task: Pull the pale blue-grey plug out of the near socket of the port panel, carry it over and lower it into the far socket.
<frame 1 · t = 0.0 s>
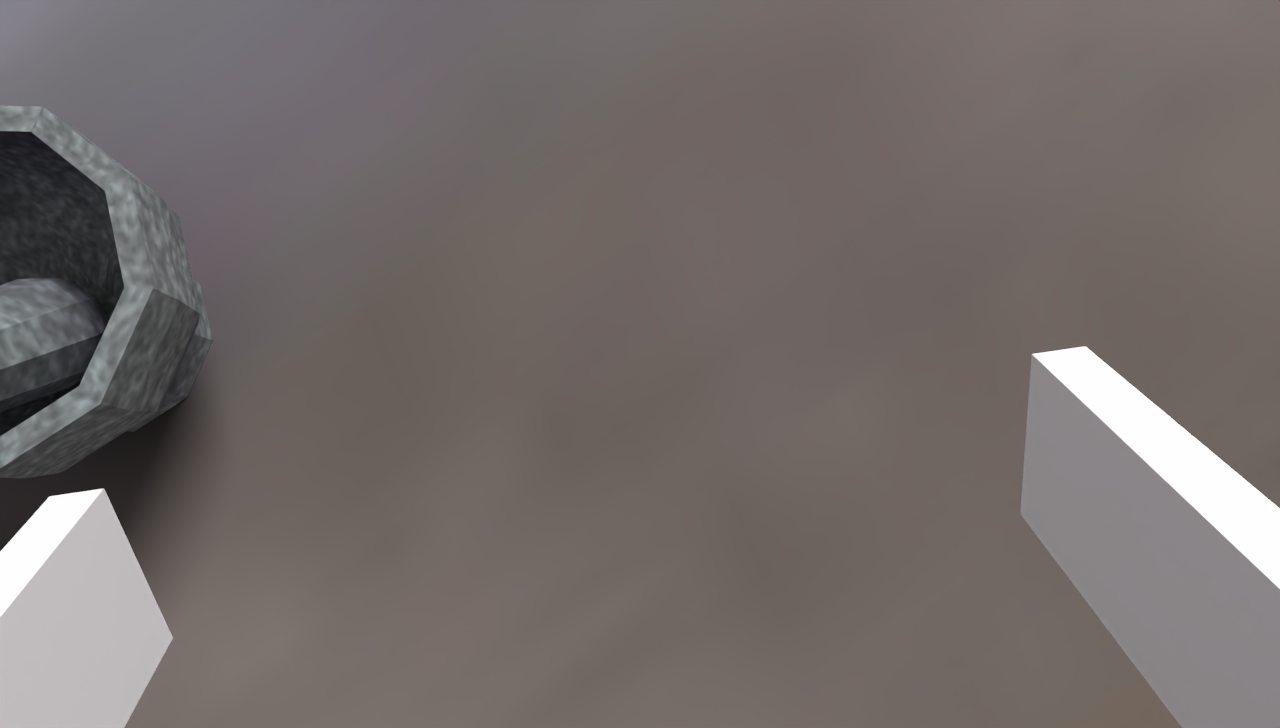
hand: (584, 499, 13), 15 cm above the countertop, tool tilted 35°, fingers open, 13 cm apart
mortar and pestle: (110, 359, 30), on the countertop
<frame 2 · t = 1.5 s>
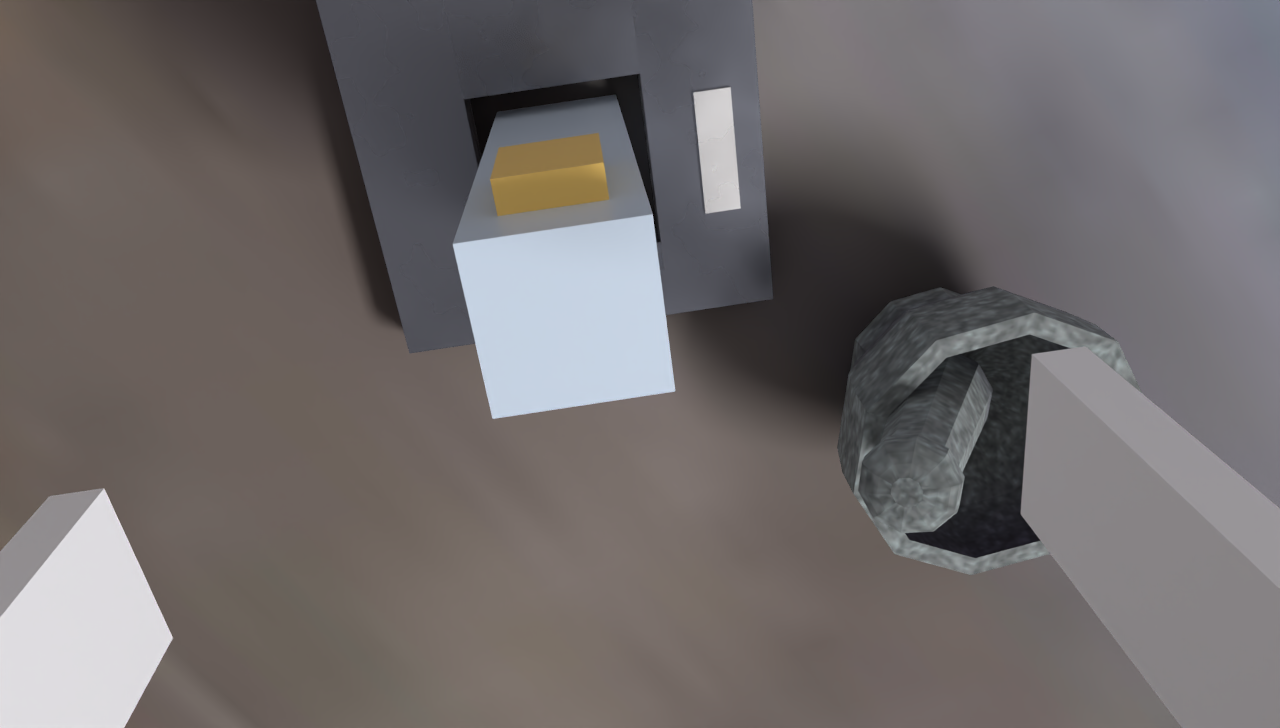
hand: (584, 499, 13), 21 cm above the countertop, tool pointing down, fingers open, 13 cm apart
plug: (566, 162, 32), resting in port panel
mortar and pestle: (908, 354, 36), on the countertop
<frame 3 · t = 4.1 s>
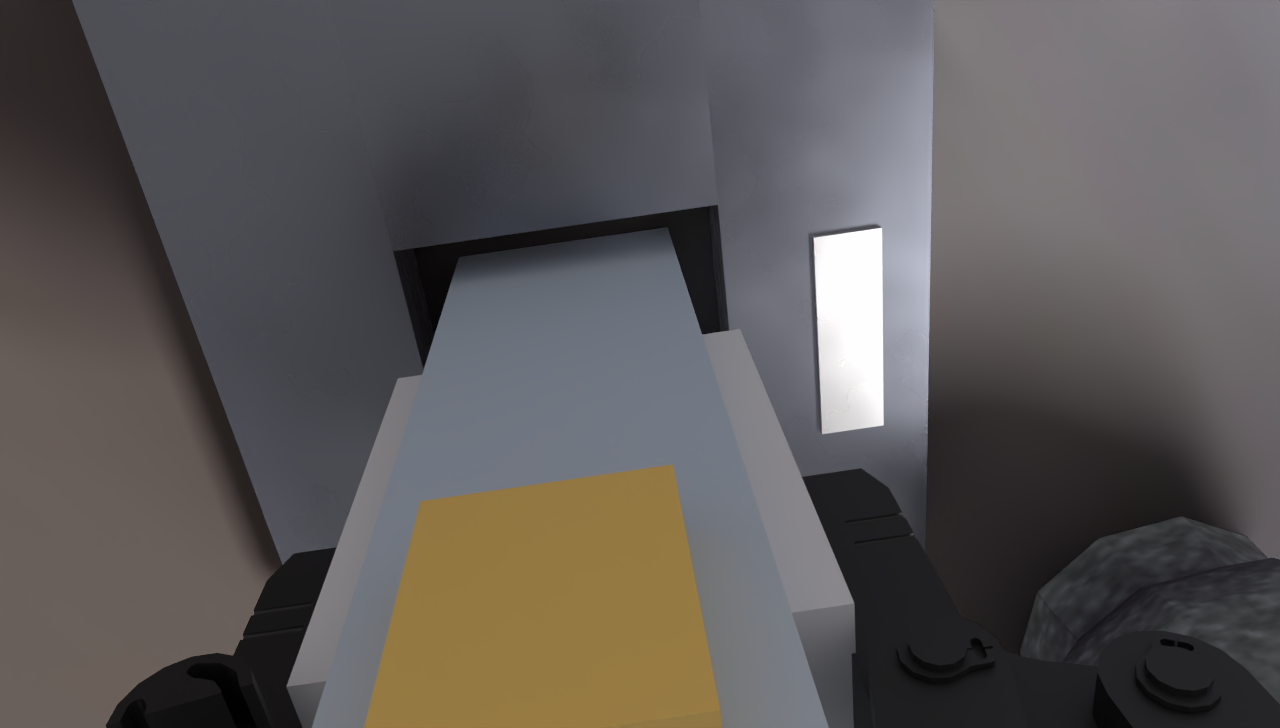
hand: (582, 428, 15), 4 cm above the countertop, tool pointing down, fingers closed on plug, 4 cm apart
plug: (579, 336, 18), resting in port panel, touching gripper
mortar and pestle: (1116, 609, 23), on the countertop
port panel: (531, 51, 16), on the countertop
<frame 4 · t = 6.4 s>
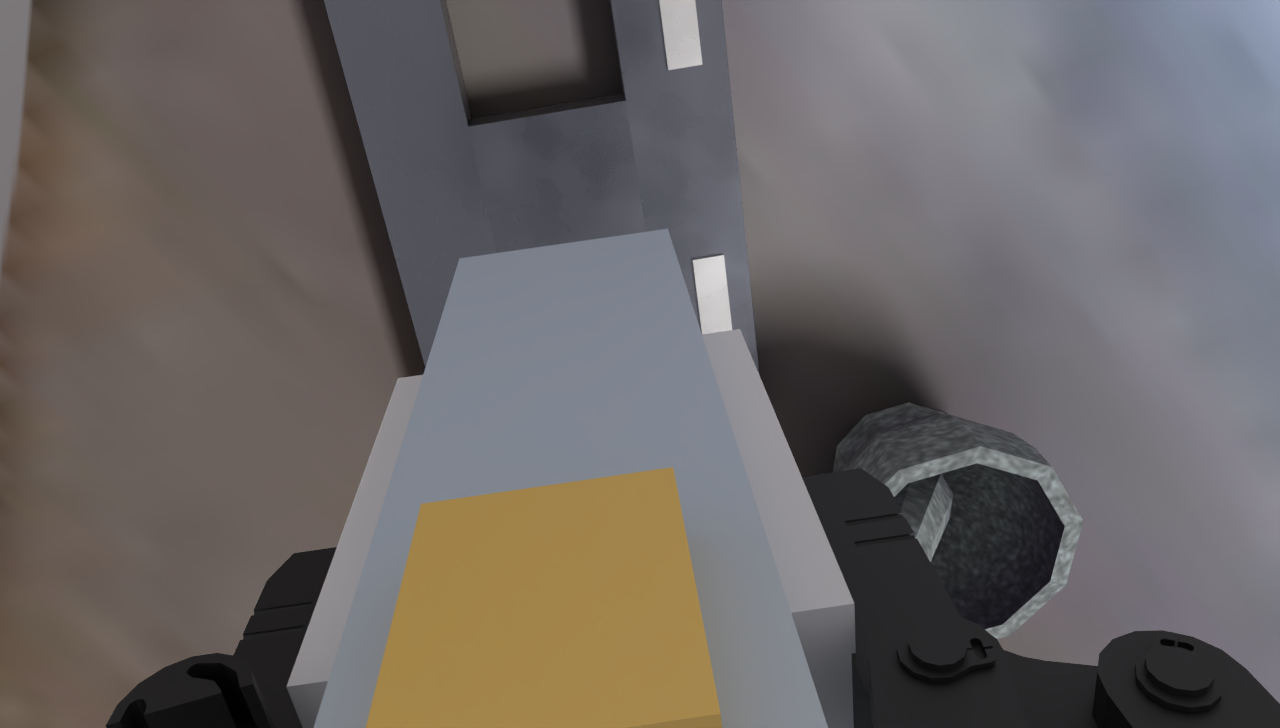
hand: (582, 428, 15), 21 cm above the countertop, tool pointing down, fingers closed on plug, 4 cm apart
plug: (579, 338, 18), point 18 cm above the countertop, touching gripper
mortar and pestle: (883, 457, 42), on the countertop
port panel: (560, 177, 35), on the countertop
when the fingers open (5 cm above the countertop, at t = 9.0 s): plug drops 1 cm, resting in port panel.
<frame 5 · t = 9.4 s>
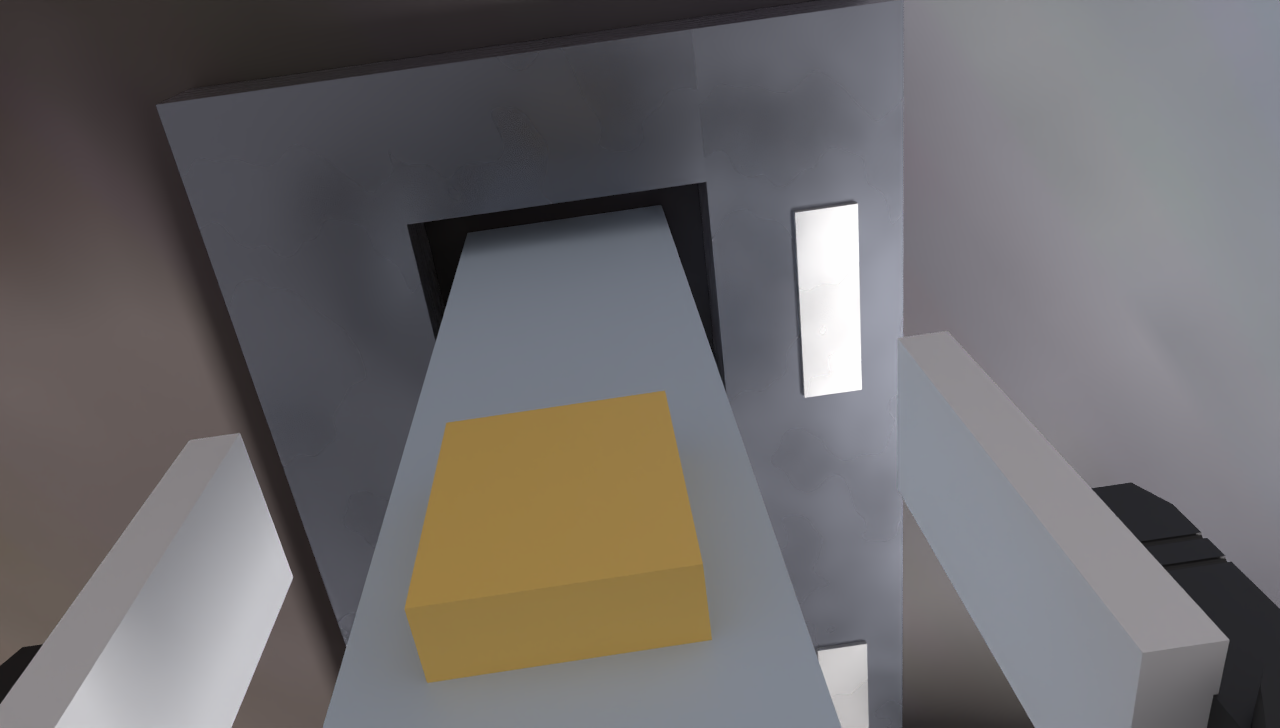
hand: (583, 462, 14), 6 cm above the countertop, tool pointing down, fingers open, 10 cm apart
plug: (579, 308, 20), resting in port panel
port panel: (614, 517, 22), on the countertop
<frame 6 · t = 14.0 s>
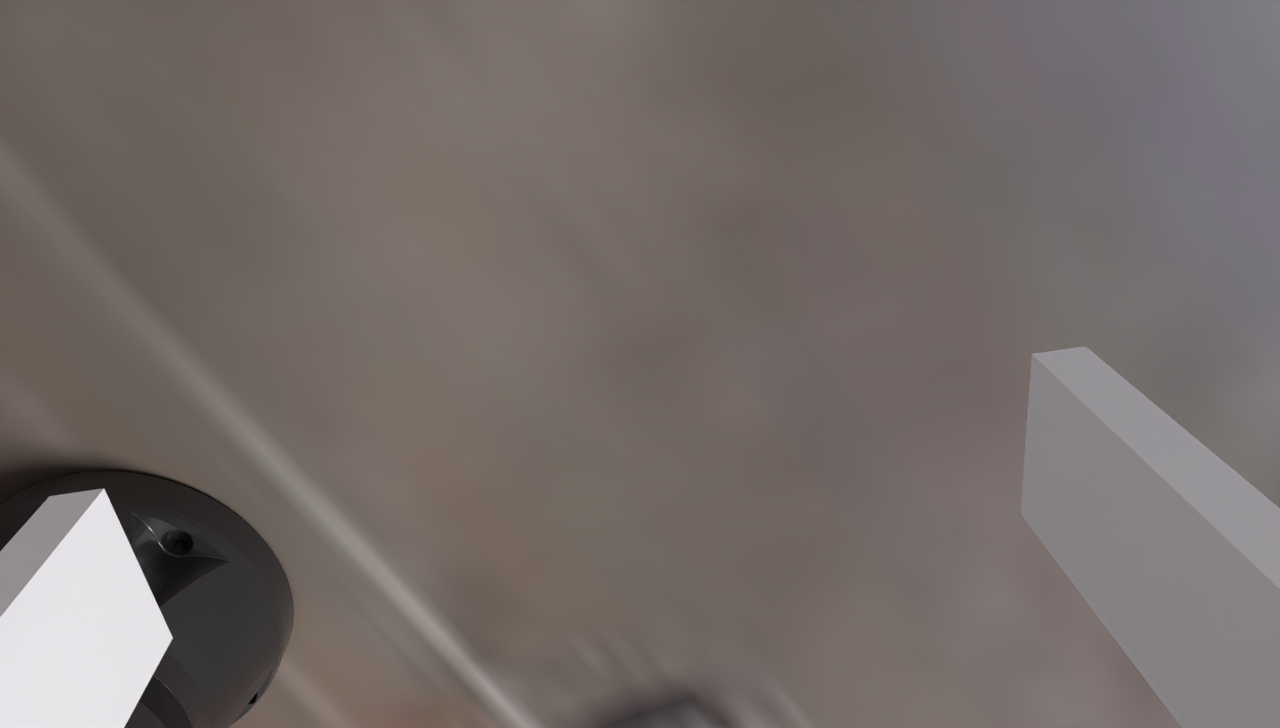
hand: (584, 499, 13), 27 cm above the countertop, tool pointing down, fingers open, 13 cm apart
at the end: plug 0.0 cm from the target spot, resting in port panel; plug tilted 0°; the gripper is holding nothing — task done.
